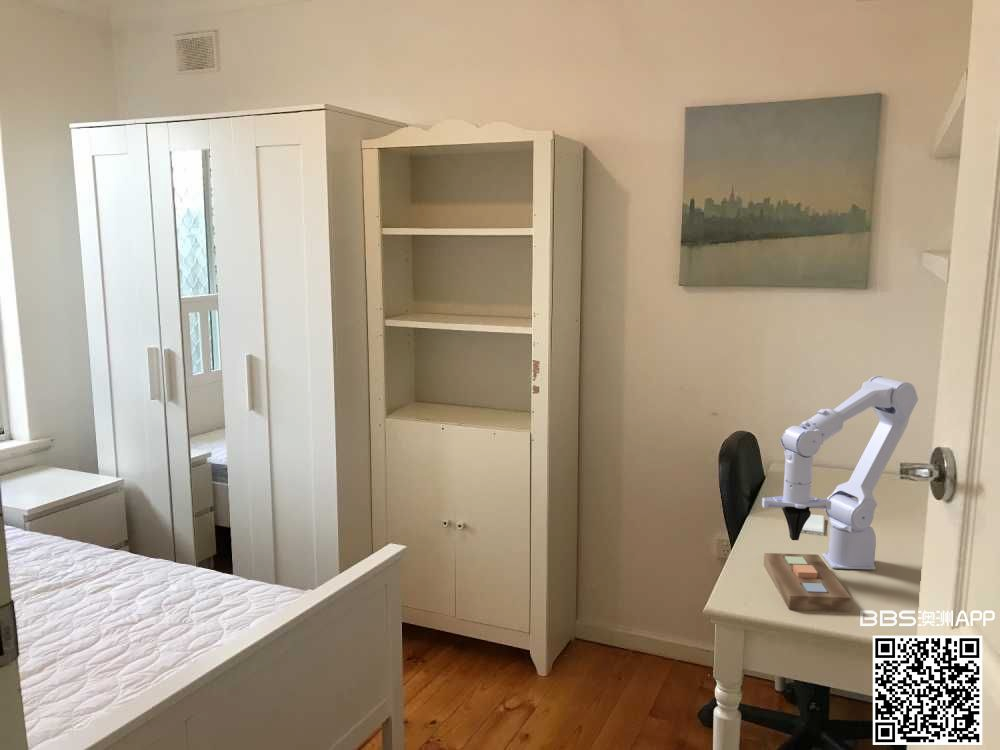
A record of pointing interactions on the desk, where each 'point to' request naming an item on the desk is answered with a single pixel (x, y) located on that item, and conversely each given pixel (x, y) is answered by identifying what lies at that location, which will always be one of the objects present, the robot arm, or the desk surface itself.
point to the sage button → (795, 560)
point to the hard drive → (814, 524)
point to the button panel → (793, 587)
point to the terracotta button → (805, 571)
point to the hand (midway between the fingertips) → (794, 538)
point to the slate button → (814, 588)
